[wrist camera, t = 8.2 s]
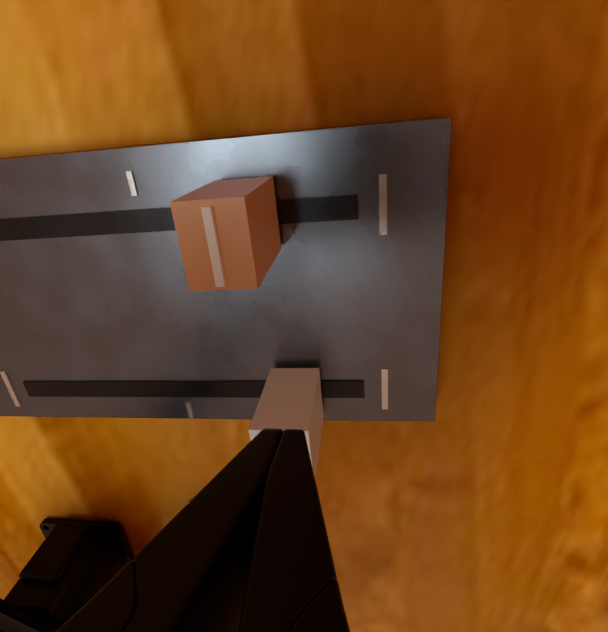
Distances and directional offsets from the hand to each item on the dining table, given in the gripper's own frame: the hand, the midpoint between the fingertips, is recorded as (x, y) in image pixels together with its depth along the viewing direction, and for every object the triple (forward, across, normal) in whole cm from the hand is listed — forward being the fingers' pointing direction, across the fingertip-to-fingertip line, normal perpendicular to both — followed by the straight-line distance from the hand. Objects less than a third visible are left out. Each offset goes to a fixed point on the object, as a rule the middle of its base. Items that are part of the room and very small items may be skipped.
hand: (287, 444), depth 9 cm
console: (+13, +8, +2) cm, 15 cm away
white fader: (+10, +2, +7) cm, 13 cm away
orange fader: (+11, +3, -2) cm, 11 cm away
